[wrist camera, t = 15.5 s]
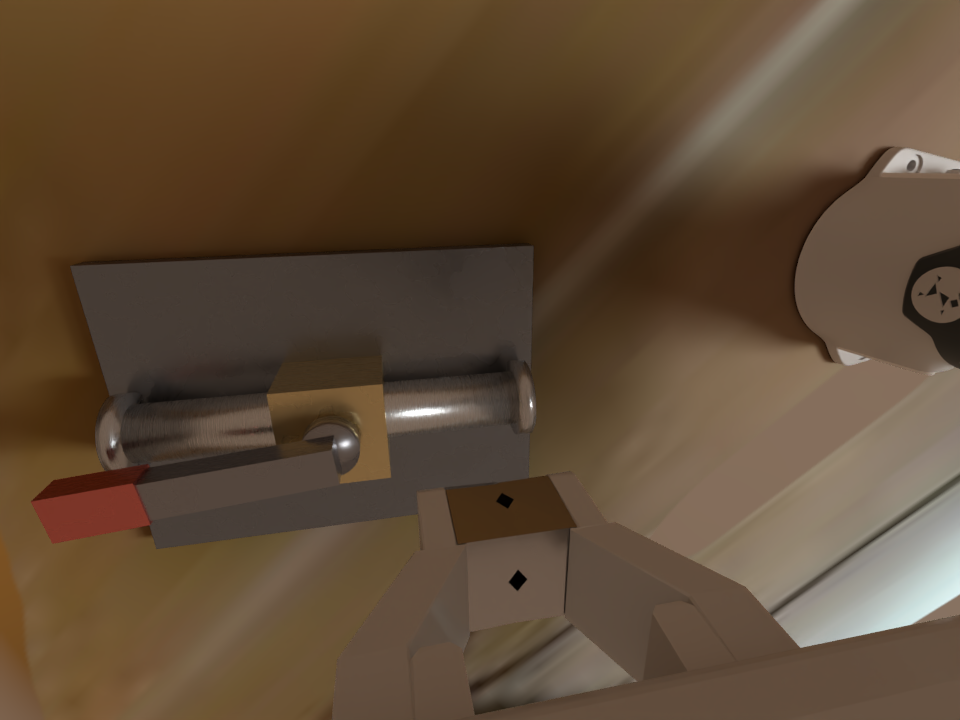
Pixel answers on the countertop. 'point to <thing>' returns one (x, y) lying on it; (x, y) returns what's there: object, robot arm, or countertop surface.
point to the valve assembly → (317, 371)
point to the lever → (197, 483)
